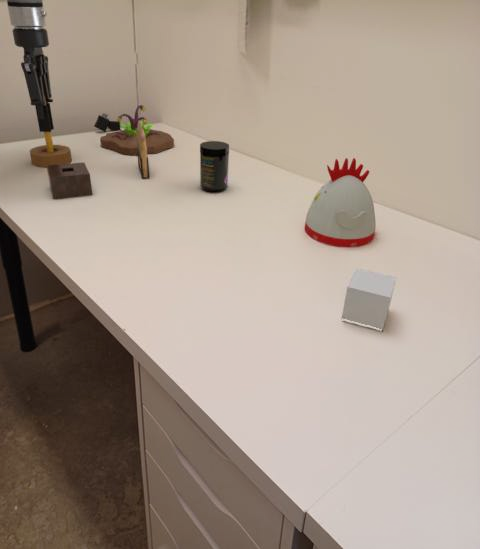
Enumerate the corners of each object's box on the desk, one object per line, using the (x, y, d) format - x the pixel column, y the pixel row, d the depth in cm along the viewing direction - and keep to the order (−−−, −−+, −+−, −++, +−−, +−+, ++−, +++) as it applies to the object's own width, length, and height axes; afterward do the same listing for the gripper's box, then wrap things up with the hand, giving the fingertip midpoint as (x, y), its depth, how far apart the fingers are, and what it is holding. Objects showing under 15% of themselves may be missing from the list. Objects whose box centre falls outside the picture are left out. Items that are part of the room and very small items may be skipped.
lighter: (113, 136, 157) (119, 122, 157) (116, 137, 156) (122, 123, 155) (92, 125, 151) (99, 110, 151) (95, 127, 150) (102, 112, 149)
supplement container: (225, 194, 111) (226, 150, 105) (197, 192, 111) (197, 148, 106) (230, 184, 117) (231, 142, 111) (203, 182, 117) (203, 140, 112)
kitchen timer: (298, 216, 101) (306, 147, 94) (361, 216, 103) (374, 148, 95) (313, 247, 90) (323, 170, 82) (383, 246, 91) (400, 171, 83)
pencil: (47, 155, 125) (36, 95, 117) (49, 153, 126) (38, 94, 118) (53, 155, 125) (43, 96, 117) (55, 154, 126) (45, 94, 118)
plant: (186, 145, 143) (185, 107, 137) (133, 159, 130) (130, 117, 125) (143, 132, 154) (141, 96, 148) (91, 143, 141) (87, 104, 136)
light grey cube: (388, 310, 73) (396, 277, 70) (382, 332, 68) (391, 297, 65) (349, 300, 75) (356, 267, 71) (340, 321, 70) (347, 286, 67)
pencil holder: (53, 199, 104) (49, 177, 102) (50, 186, 111) (46, 165, 108) (92, 195, 107) (89, 173, 105) (87, 182, 114) (84, 162, 111)
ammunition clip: (149, 178, 118) (146, 129, 112) (142, 178, 117) (138, 129, 111) (145, 164, 127) (142, 119, 121) (138, 165, 126) (135, 119, 120)
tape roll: (26, 166, 122) (24, 155, 120) (38, 155, 130) (36, 144, 129) (66, 167, 122) (64, 156, 121) (75, 155, 131) (74, 145, 129)
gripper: (36, 30, 104) (54, 138, 116) (54, 26, 116) (68, 123, 129) (1, 29, 103) (22, 137, 116) (23, 24, 116) (40, 123, 128)
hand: (46, 130), depth 122 cm, fingers closed on pencil, 1 cm apart
